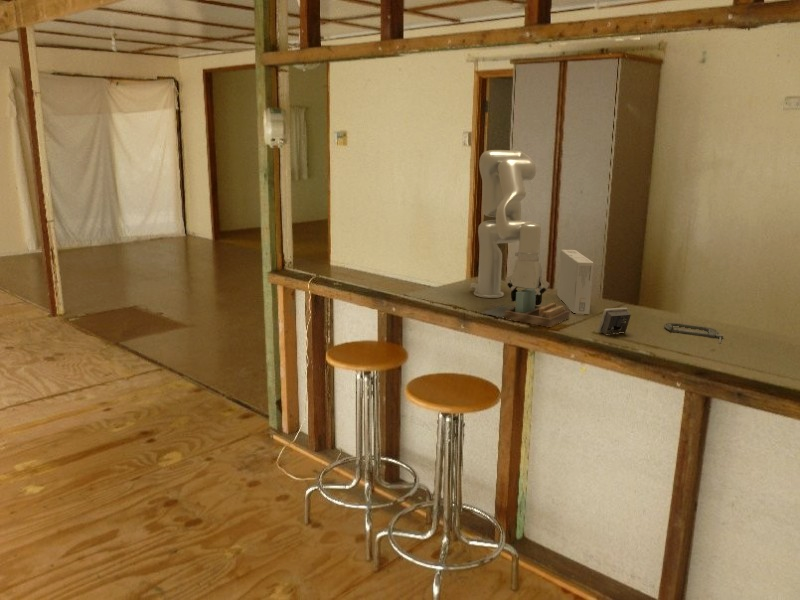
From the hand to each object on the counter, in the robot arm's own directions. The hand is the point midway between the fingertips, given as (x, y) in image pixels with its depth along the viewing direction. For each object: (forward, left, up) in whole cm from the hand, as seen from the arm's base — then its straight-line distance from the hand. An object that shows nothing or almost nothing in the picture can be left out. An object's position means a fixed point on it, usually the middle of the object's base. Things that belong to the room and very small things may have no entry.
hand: (525, 302), depth 249 cm
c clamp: (+54, +20, -6) cm, 58 cm away
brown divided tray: (+5, 0, -5) cm, 7 cm away
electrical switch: (+34, 0, -6) cm, 34 cm away
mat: (-10, 0, -5) cm, 11 cm away
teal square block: (0, 0, -5) cm, 5 cm away
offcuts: (+10, 0, -5) cm, 11 cm away
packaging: (+6, +30, -6) cm, 31 cm away
